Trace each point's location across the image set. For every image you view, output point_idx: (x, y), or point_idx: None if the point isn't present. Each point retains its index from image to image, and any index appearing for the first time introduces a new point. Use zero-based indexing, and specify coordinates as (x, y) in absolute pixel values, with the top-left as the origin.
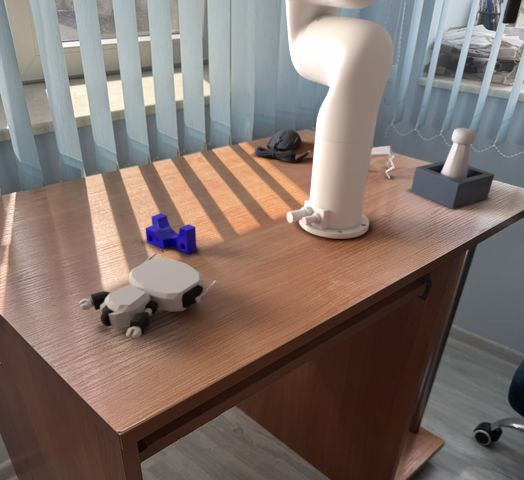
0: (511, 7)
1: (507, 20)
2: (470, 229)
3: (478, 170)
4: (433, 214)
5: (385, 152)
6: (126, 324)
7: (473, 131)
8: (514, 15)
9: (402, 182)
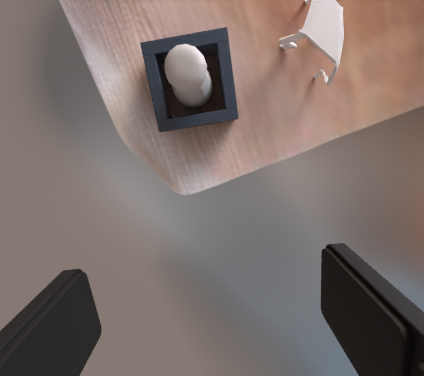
0: (364, 308)
1: (327, 261)
2: (87, 28)
3: (181, 121)
4: (142, 13)
5: (312, 27)
6: None
7: (172, 77)
8: (336, 316)
9: (258, 54)
